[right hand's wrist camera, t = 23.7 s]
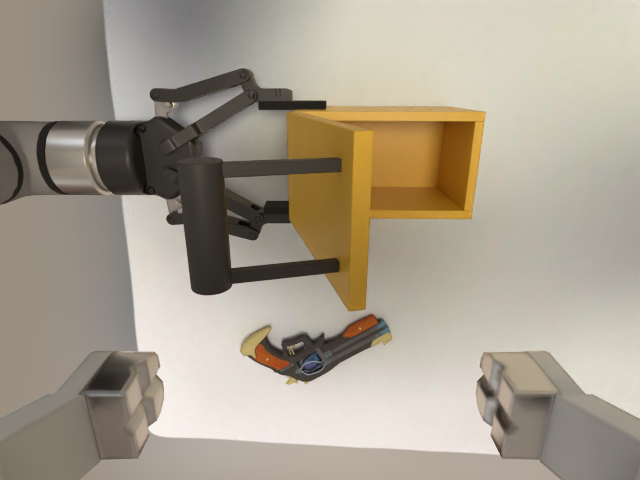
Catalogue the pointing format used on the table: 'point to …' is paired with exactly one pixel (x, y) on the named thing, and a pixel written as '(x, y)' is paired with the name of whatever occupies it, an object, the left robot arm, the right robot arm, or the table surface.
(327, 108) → the chest
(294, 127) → the lid
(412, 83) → the table surface
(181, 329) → the table surface
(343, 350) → the toy gun
